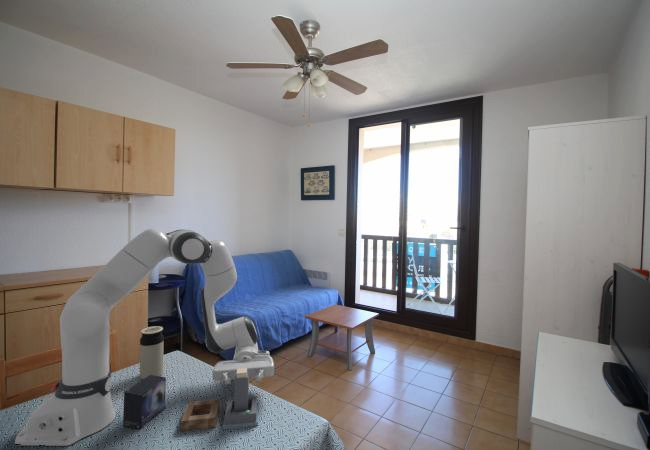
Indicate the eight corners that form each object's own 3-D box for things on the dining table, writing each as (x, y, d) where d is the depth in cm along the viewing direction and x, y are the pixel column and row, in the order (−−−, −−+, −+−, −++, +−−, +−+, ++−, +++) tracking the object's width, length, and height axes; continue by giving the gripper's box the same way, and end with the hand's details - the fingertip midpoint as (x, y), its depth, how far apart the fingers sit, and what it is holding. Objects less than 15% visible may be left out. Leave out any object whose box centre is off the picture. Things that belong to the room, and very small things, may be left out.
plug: (234, 418, 93) (234, 374, 93) (235, 410, 97) (235, 368, 97) (247, 417, 94) (248, 373, 93) (248, 409, 98) (248, 367, 97)
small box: (140, 430, 88) (141, 394, 88) (121, 427, 90) (122, 391, 90) (166, 408, 99) (167, 376, 99) (149, 405, 100) (149, 374, 100)
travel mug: (167, 373, 121) (167, 328, 120) (147, 382, 114) (147, 334, 114) (156, 368, 125) (156, 324, 125) (135, 376, 118) (135, 330, 118)
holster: (180, 431, 88) (180, 421, 88) (188, 411, 97) (188, 402, 97) (215, 427, 90) (215, 417, 90) (219, 408, 99) (219, 399, 99)
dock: (222, 429, 89) (222, 416, 89) (226, 408, 99) (226, 396, 99) (257, 425, 91) (258, 412, 91) (258, 405, 101) (258, 393, 101)
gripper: (215, 354, 110) (208, 374, 96) (273, 350, 114) (274, 368, 100) (215, 372, 110) (208, 394, 96) (273, 367, 114) (274, 387, 100)
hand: (242, 381), depth 98 cm, fingers open, 8 cm apart
